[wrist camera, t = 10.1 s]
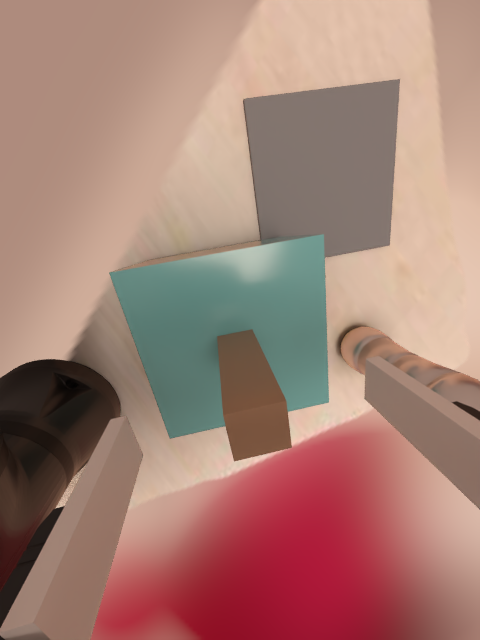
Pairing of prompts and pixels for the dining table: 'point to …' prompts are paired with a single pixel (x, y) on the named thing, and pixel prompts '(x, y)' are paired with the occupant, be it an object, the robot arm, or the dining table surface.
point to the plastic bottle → (409, 365)
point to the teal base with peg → (232, 337)
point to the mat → (325, 164)
